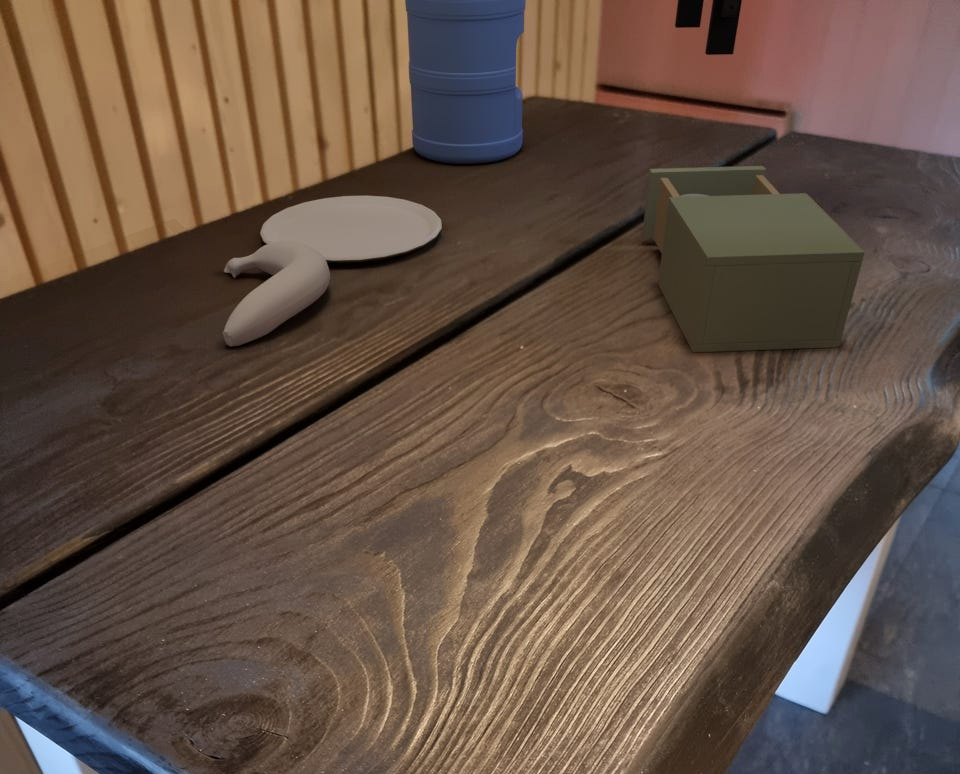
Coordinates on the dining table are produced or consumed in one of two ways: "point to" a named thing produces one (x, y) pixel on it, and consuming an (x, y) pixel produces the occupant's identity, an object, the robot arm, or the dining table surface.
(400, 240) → the plate
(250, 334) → the banana
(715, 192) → the drawer
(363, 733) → the dining table surface
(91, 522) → the dining table surface
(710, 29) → the robot arm
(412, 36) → the water jug
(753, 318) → the cabinet
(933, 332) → the dining table surface
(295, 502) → the dining table surface
